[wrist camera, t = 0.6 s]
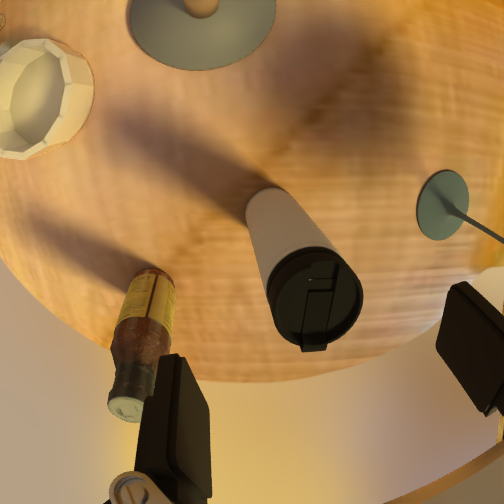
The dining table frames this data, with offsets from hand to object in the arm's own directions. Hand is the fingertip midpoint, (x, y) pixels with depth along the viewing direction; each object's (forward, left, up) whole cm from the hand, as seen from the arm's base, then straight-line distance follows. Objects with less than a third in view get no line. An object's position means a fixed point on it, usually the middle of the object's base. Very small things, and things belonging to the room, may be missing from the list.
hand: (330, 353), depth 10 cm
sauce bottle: (+17, -8, -28) cm, 34 cm away
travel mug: (+4, +4, -28) cm, 28 cm away
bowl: (-5, -26, -28) cm, 39 cm away
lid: (-18, -10, -28) cm, 35 cm away
